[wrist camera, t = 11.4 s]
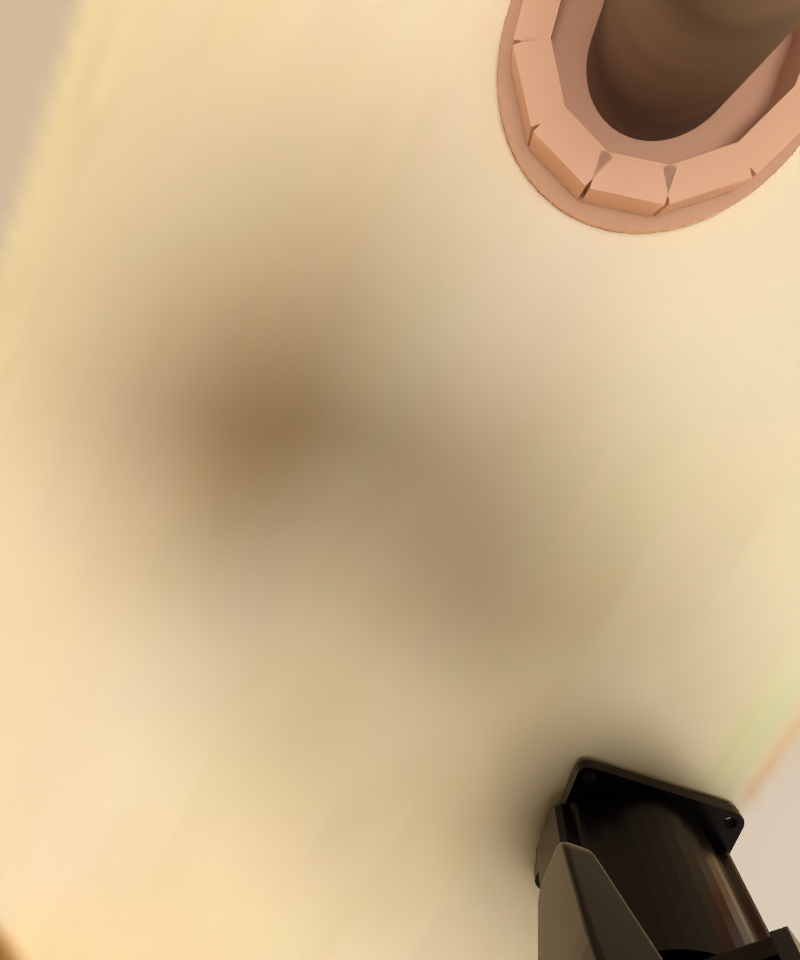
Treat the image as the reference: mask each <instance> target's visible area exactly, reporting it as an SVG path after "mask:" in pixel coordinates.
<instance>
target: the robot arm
mask: <svg viewBox="0 0 800 960" xmlns="http://www.w3.org/2000/svg"><path fill="white" fill-rule="evenodd" d="M586 773H593V774H592V775H590V776H585V775H584V774H586ZM728 817H731V818H730V819H727V820H726V818H728ZM743 827H744V819H743V817H742V815H741V814H740V812H739V810H738V809H737V808H736V807H735V806H733V805H731V804H728V803H725V802H722V801H719V800H716V799H713V798H709V797H706V796H703V795H700V794H697V793H693V792H690V791H687V790H684V789H681V788H677V787H674V786H671V785H668V784H665V783H662V782H658V781H655V780H652V779H649V778H646V777H642V776H639V775H636V774H633V773H630V772H627V771H623V770H620V769H617V768H614V767H611V766H607V765H604V764H601V763H598V762H595V761H591V760H583V761H580V762H579V763H578V764H577V765H576V766H575V769H574V771H573V774H572V776H571V779H570V781H569V784H568V786H567V789H566V791H565V794H564V796H563V799H562V801H561V803H560V802H559V803H557V804H556V805H555V806H554V807H553V809H552V811H551V814H550V816H549V819H548V821H547V824H546V826H545V829H544V832H543V834H542V837H541V839H540V842H539V844H538V847H537V849H536V855H537V864H536V866H535V869H534V878H535V883H536V885H537V886H538V887H539V888H540V892H539V900H538V960H800V944H799V942H798V941H797V939H796V938H795V936H794V935H793V933H792V932H791V931H790V929H789V928H788V927H787V926H786V927H783V928H781V929H777V930H775V931H771V932H769V931H768V929H767V927H766V925H765V923H764V922H763V920H762V917H761V916H760V913H759V911H758V910H757V908H756V906H755V904H754V902H753V900H752V898H751V896H750V894H749V892H748V890H747V888H746V886H745V884H744V882H743V880H742V878H741V876H740V874H739V872H738V870H737V868H736V866H735V864H734V862H733V860H732V858H731V856H730V852H731V850H732V848H733V846H734V844H735V842H736V840H737V839H738V837H739V835H740V833H741V831H742V829H743Z"/></svg>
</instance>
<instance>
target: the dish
mask: <svg viewBox="0 0 800 960" xmlns="http://www.w3.org/2000/svg"><path fill="white" fill-rule="evenodd" d="M604 1H605V0H511V3H510V7H509V10H508V13H507V16H506V20H505V23H504V28H503V34H502V39H501V44H500V53H499V66H498V96H499V105H500V111H501V117H502V123H503V126H504V129H505V133H506V136H507V140H508V143H509V145H510V147H511V149H512V152H513V154H514V156H515V158H516V161H517V162H518V164H519V165H520V167H521V169H522V170H523V172H524V173H525V175H526V177H527V178H528V179H529V181H530V182H531V183H532V184H533V185H534V187H535V188H536V189H537V190H538V191H539V193H541V194H542V195H543V196H544V197H545V198H546V199H547V200H548V201H549V202H551V203H552V204H553V205H554V206H555V207H557V208H558V209H560V210H561V211H563V212H564V213H566V214H568V215H569V216H571V217H573V218H575V219H577V220H579V221H581V222H584V223H586V224H588V225H591V226H595V227H598V228H601V229H605V230H609V231H616V232H622V233H653V232H662V231H669V230H673V229H677V228H681V227H685V226H689V225H691V224H694V223H696V222H699V221H702V220H704V219H707V218H709V217H711V216H713V215H715V214H717V213H719V212H721V211H723V210H724V209H726V208H728V207H730V206H732V205H733V204H735V203H737V202H738V201H739V200H741V199H742V198H744V197H745V196H747V195H748V194H750V193H751V192H753V191H754V190H756V189H757V188H758V187H759V186H760V185H762V184H763V183H764V182H765V181H766V180H767V179H769V178H770V177H771V176H772V175H773V174H774V173H776V171H777V170H778V169H779V168H780V167H781V166H782V165H783V164H784V163H785V162H786V161H787V160H788V159H789V158H790V157H791V155H792V154H793V153H794V152H795V151H796V149H797V148H798V147H799V145H800V24H799V25H798V26H797V27H796V28H795V29H794V30H793V31H792V32H791V33H790V34H789V35H788V36H787V37H786V38H785V39H784V40H783V42H782V43H781V44H780V45H779V46H778V47H777V48H776V49H775V50H774V51H773V52H772V53H771V54H770V55H769V56H768V57H767V58H766V59H765V61H764V62H763V63H762V64H761V65H760V66H759V67H758V68H757V69H756V70H755V71H754V72H753V73H752V74H751V75H750V76H749V77H748V78H747V80H746V81H745V82H744V83H743V84H742V85H741V86H740V87H739V88H738V89H737V90H736V91H735V92H734V93H733V94H732V95H731V96H730V98H729V99H728V100H727V101H726V102H725V103H724V104H723V105H722V106H721V107H720V108H719V109H718V110H717V111H716V112H715V113H714V114H713V115H712V116H711V117H710V118H709V119H708V120H707V121H705V122H704V123H703V124H701V125H700V126H698V127H697V128H695V129H693V130H692V131H690V132H688V133H686V134H683V135H681V136H678V137H676V138H672V139H668V140H662V141H643V140H637V139H633V138H630V137H627V136H625V135H623V134H621V133H619V132H618V131H616V130H615V129H613V128H612V127H611V126H610V125H609V124H607V123H606V122H605V121H604V119H603V118H602V117H601V116H600V114H599V113H598V111H597V109H596V108H595V106H594V104H593V101H592V99H591V96H590V93H589V89H588V85H587V75H586V66H587V56H588V50H589V46H590V42H591V39H592V36H593V33H594V30H595V27H596V24H597V21H598V18H599V15H600V13H601V10H602V7H603V4H604Z"/></svg>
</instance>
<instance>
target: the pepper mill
mask: <svg viewBox="0 0 800 960" xmlns="http://www.w3.org/2000/svg"><path fill="white" fill-rule="evenodd" d="M799 24H800V0H605V1H604V4H603V7H602V10H601V13H600V15H599V18H598V21H597V24H596V27H595V30H594V33H593V36H592V39H591V42H590V46H589V50H588V56H587V66H586V75H587V85H588V89H589V93H590V96H591V99H592V101H593V104H594V106H595V108H596V109H597V111H598V113H599V114H600V116H601V117H602V118H603V119H604V121H605V122H606V123H607V124H609V125H610V126H611V127H612V128H613V129H615V130H616V131H618V132H619V133H621V134H623V135H625V136H627V137H630V138H633V139H637V140H643V141H662V140H668V139H672V138H676V137H678V136H681V135H683V134H686V133H688V132H690V131H692V130H693V129H695V128H697V127H698V126H700V125H701V124H703V123H704V122H705V121H707V120H708V119H709V118H710V117H711V116H712V115H713V114H714V113H715V112H716V111H717V110H718V109H719V108H720V107H721V106H722V105H723V104H724V103H725V102H726V101H727V100H728V99H729V98H730V96H731V95H732V94H733V93H734V92H735V91H736V90H737V89H738V88H739V87H740V86H741V85H742V84H743V83H744V82H745V81H746V80H747V78H748V77H749V76H750V75H751V74H752V73H753V72H754V71H755V70H756V69H757V68H758V67H759V66H760V65H761V64H762V63H763V62H764V61H765V59H766V58H767V57H768V56H769V55H770V54H771V53H772V52H773V51H774V50H775V49H776V48H777V47H778V46H779V45H780V44H781V43H782V42H783V40H784V39H785V38H786V37H787V36H788V35H789V34H790V33H791V32H792V31H793V30H794V29H795V28H796V27H797V26H798V25H799Z"/></svg>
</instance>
